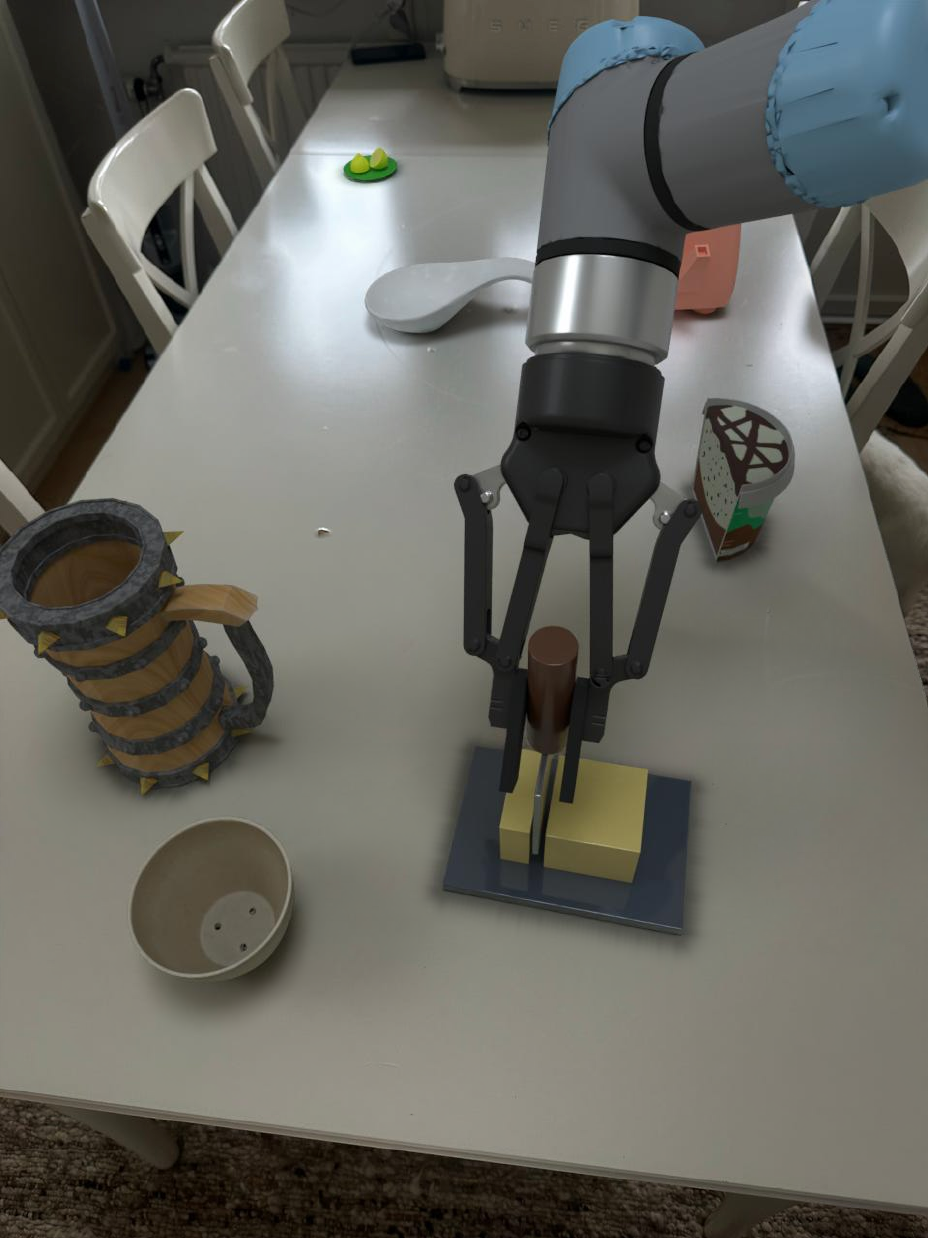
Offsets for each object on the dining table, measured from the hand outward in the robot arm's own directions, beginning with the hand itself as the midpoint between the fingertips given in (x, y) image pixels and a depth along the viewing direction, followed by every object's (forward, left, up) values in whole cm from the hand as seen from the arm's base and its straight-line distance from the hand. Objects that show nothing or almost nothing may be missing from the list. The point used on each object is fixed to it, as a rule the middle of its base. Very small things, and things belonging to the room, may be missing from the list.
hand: (538, 789), depth 48 cm
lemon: (+82, -74, -14) cm, 112 cm away
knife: (+2, -4, -9) cm, 9 cm away
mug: (+28, +6, -14) cm, 32 cm away
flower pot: (+14, +15, -14) cm, 25 cm away
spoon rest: (+46, -51, -14) cm, 70 cm away
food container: (+5, -39, -14) cm, 42 cm away
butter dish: (0, -4, -14) cm, 14 cm away
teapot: (+29, -69, -14) cm, 77 cm away
